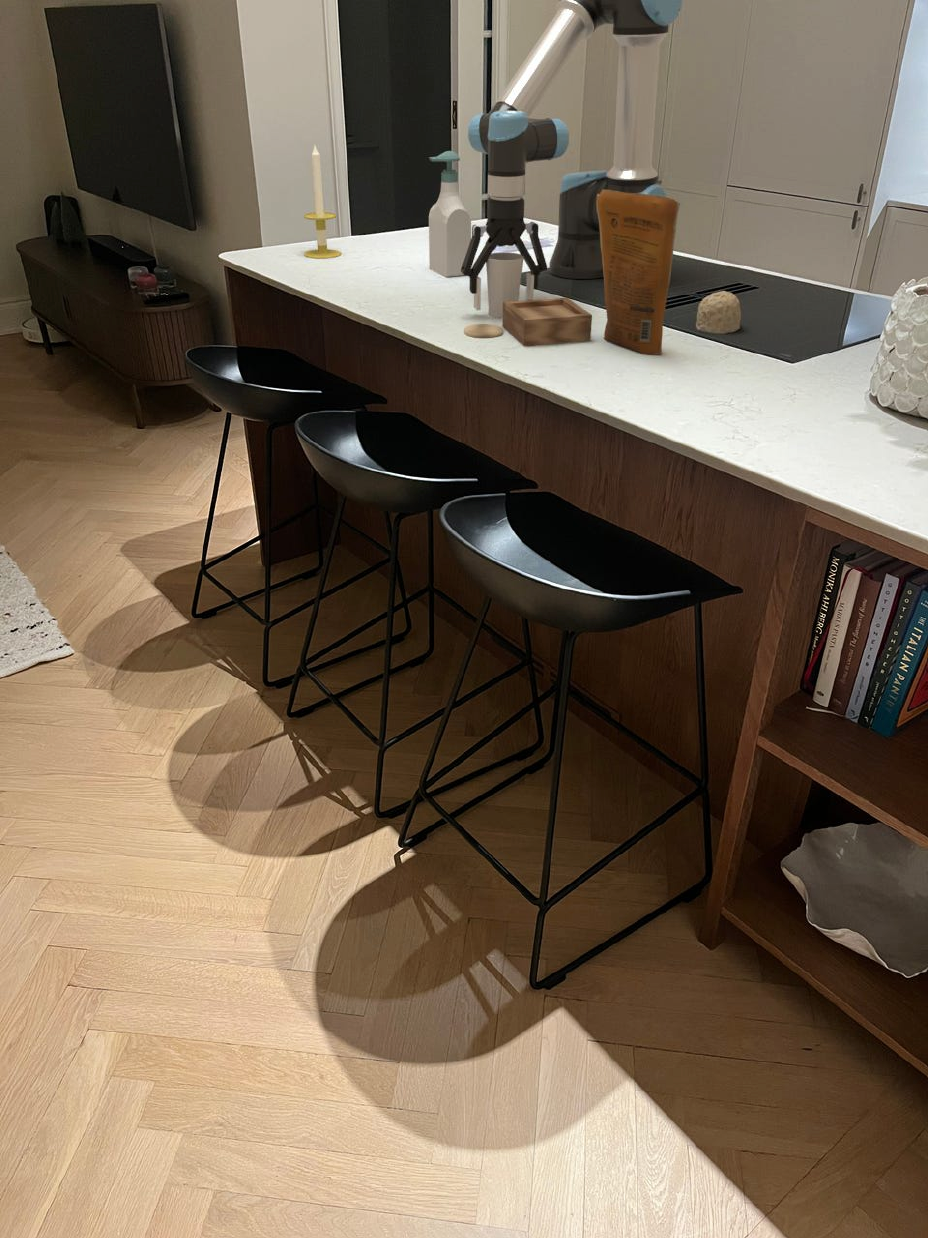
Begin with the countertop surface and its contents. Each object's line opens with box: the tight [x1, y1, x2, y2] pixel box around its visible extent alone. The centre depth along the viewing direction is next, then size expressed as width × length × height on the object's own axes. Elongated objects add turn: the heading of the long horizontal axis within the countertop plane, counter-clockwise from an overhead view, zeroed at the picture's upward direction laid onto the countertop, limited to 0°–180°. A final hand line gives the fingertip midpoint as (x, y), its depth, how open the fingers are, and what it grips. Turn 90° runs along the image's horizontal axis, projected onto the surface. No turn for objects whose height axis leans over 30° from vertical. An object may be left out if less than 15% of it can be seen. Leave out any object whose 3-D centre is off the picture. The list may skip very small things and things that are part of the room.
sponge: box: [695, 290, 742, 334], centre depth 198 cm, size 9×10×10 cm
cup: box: [485, 251, 524, 319], centre depth 205 cm, size 8×8×12 cm
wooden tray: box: [501, 297, 593, 347], centre depth 195 cm, size 14×14×5 cm
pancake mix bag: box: [596, 190, 681, 355], centre depth 182 cm, size 7×19×28 cm, turn 34°
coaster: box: [463, 323, 504, 339], centre depth 196 cm, size 8×8×1 cm
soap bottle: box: [428, 150, 472, 278], centre depth 233 cm, size 11×8×27 cm
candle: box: [303, 142, 342, 260], centre depth 250 cm, size 10×10×27 cm
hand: (503, 306), depth 207 cm, fingers open, 11 cm apart
